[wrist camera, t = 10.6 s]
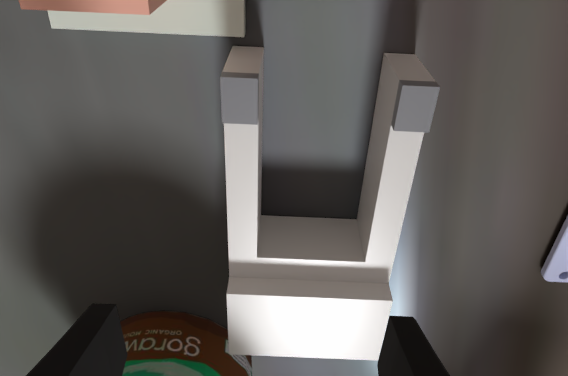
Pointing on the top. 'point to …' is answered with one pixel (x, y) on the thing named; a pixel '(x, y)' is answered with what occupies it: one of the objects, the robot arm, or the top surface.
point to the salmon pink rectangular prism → (95, 6)
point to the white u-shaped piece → (318, 225)
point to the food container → (179, 346)
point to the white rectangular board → (164, 19)
